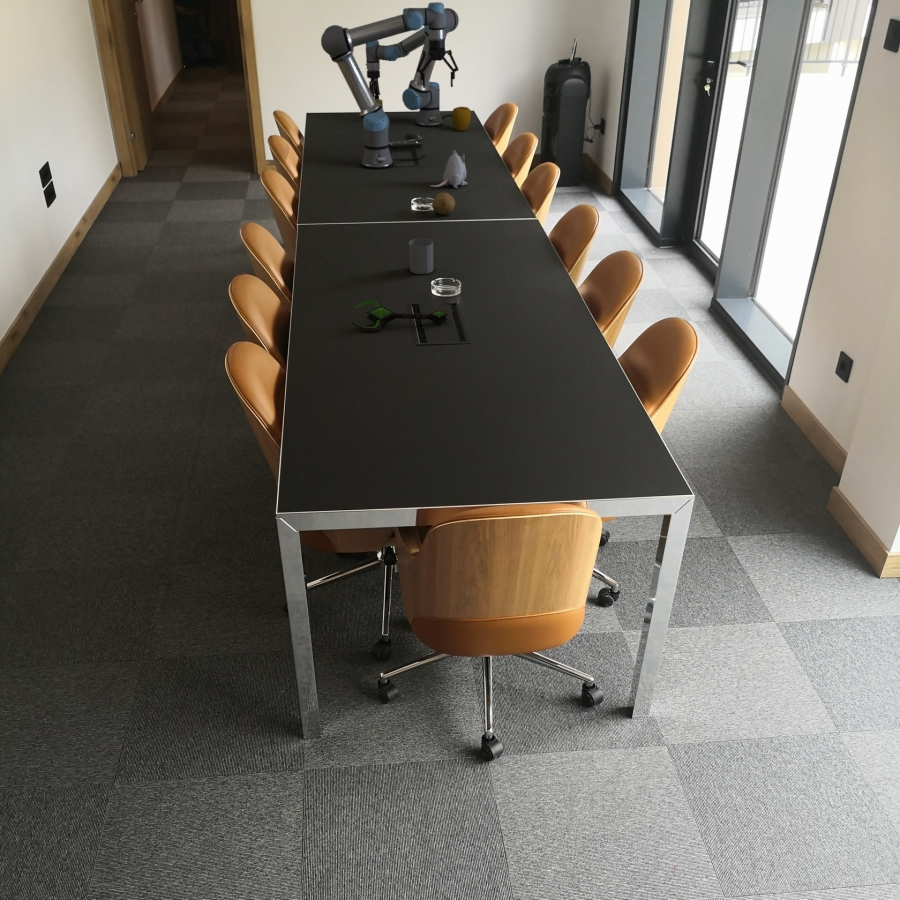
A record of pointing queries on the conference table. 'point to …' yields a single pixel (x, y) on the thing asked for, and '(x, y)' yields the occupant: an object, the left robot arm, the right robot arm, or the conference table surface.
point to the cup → (421, 256)
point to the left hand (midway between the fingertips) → (437, 87)
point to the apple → (461, 118)
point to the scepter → (393, 315)
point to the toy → (454, 171)
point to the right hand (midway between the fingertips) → (374, 109)
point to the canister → (379, 102)
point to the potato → (443, 203)
